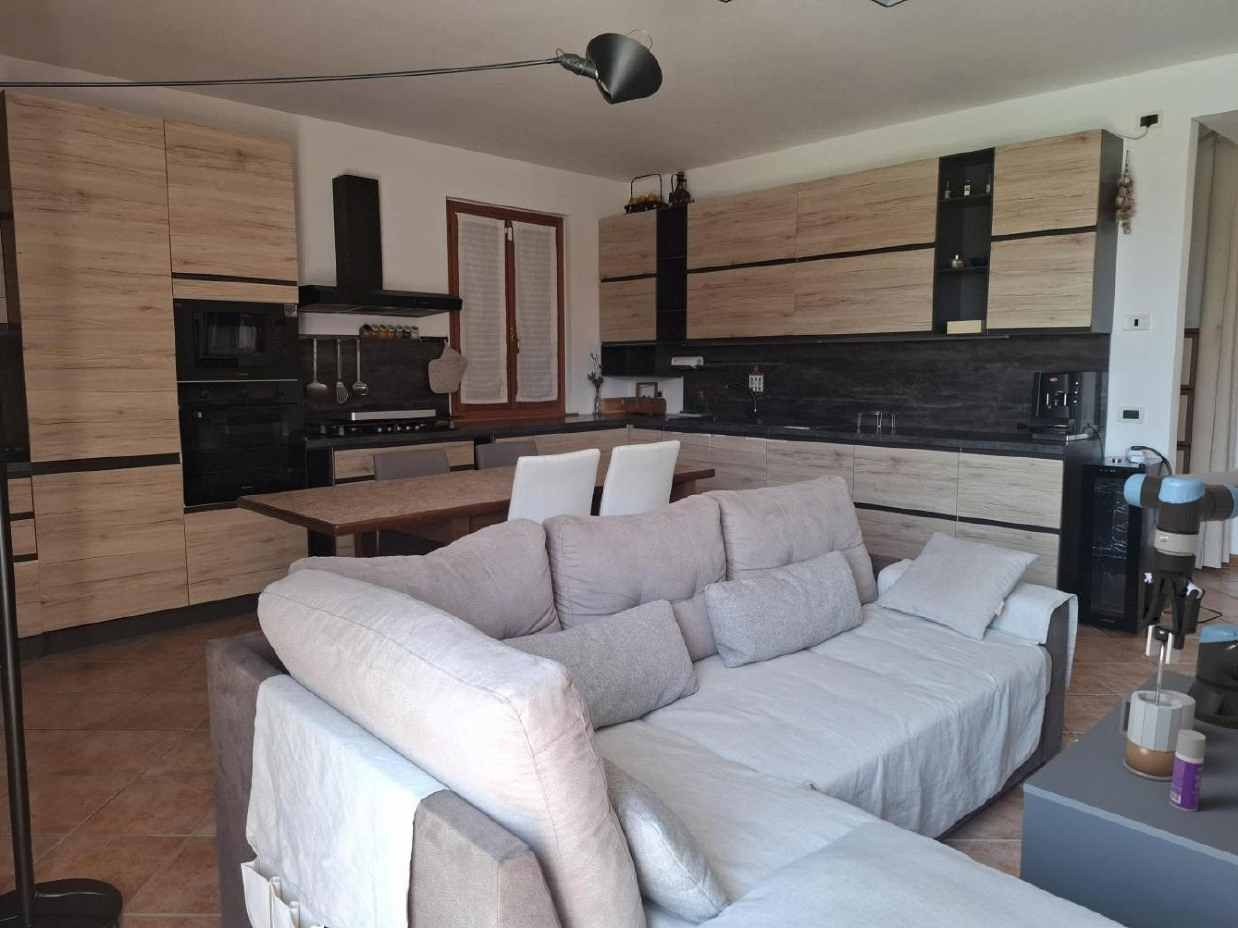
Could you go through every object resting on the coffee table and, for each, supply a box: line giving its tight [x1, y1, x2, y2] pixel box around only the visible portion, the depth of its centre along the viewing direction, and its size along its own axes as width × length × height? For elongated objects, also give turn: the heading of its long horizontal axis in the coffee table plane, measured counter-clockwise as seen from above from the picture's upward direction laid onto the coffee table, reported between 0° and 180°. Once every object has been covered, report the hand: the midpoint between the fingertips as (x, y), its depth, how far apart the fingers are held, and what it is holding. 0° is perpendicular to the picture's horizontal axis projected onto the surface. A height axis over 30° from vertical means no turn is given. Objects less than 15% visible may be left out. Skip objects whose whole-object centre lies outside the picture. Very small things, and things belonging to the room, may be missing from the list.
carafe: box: [1118, 690, 1183, 783], centre depth 180 cm, size 10×12×16 cm
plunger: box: [1142, 624, 1173, 707], centre depth 177 cm, size 6×6×18 cm
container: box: [1169, 729, 1207, 813], centre depth 165 cm, size 5×5×15 cm
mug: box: [1152, 689, 1196, 731], centre depth 194 cm, size 12×8×11 cm
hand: (1162, 658), depth 177 cm, fingers closed on plunger, 4 cm apart
